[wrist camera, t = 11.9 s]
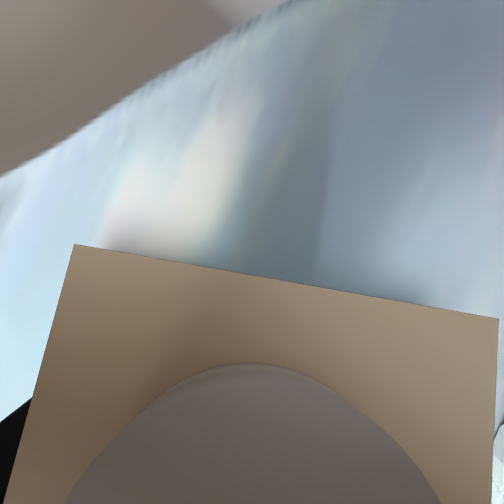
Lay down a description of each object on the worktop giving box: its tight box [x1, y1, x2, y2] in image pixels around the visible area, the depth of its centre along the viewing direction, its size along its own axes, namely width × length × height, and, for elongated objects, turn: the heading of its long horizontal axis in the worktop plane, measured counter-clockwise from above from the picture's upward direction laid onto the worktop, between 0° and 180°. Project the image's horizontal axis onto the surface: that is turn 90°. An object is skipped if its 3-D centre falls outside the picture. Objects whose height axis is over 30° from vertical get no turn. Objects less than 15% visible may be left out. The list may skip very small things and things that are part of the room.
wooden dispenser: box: [3, 244, 499, 504], centre depth 9 cm, size 6×6×12 cm
